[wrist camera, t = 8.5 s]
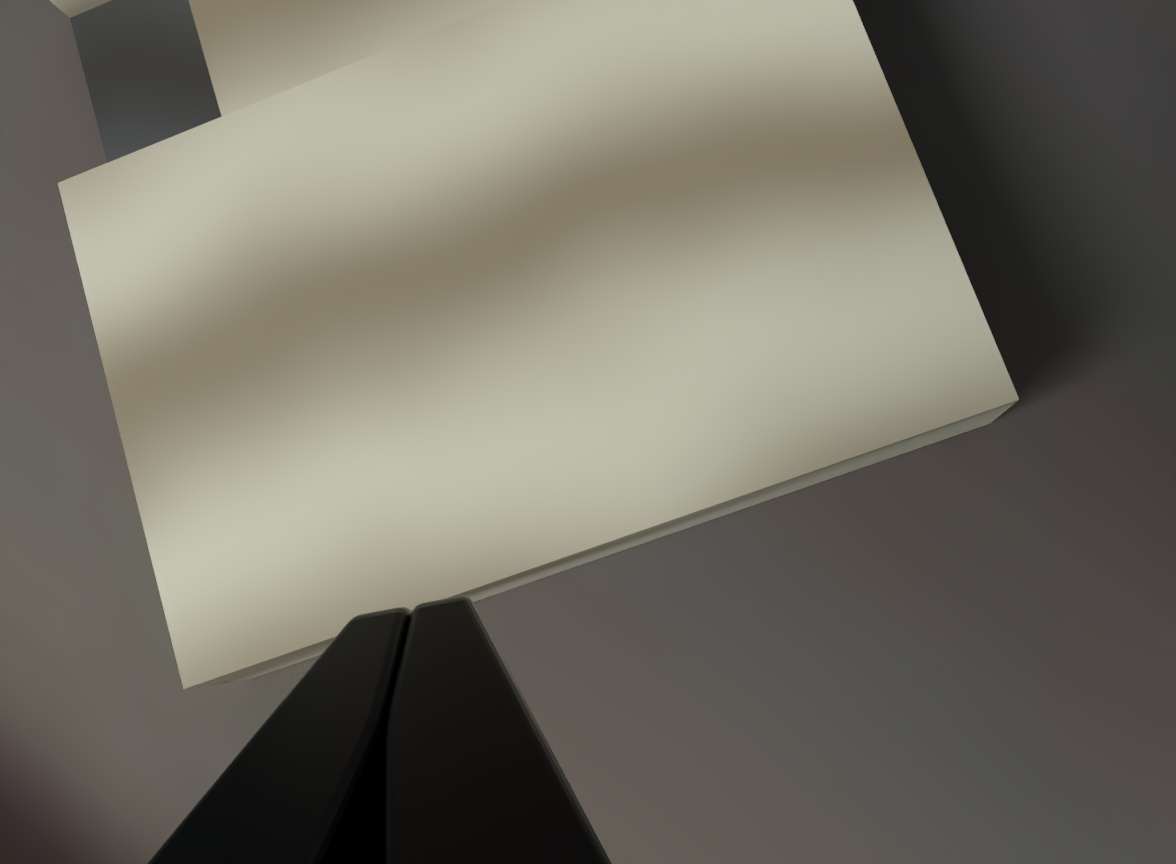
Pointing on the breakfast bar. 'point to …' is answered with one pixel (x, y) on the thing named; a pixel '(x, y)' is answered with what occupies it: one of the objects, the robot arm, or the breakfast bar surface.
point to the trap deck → (494, 290)
